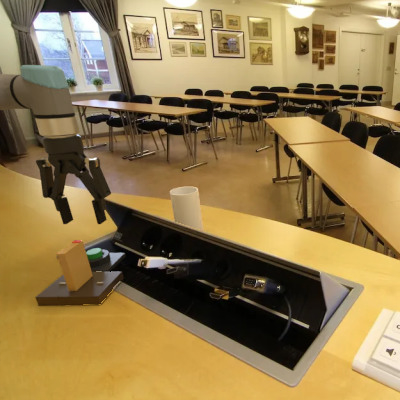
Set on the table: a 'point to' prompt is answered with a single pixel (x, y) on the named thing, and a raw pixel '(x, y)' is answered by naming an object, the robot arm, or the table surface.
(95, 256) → the release button
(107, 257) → the block
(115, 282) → the lock plate
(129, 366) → the table surface
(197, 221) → the cup
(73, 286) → the tan upright slab
